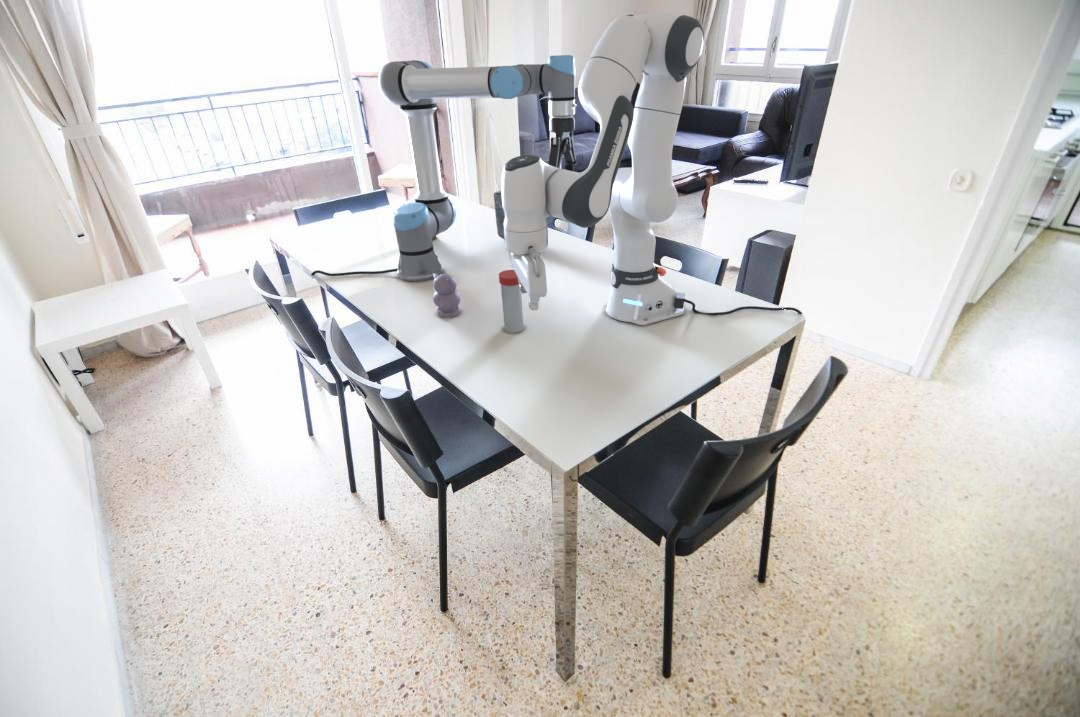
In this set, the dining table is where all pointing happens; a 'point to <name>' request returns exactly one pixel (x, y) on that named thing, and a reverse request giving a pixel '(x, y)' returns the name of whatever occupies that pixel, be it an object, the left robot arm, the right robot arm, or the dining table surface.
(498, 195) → the concrete block
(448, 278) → the cat figurine
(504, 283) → the lid
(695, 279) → the dining table surface
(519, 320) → the grey cylinder
